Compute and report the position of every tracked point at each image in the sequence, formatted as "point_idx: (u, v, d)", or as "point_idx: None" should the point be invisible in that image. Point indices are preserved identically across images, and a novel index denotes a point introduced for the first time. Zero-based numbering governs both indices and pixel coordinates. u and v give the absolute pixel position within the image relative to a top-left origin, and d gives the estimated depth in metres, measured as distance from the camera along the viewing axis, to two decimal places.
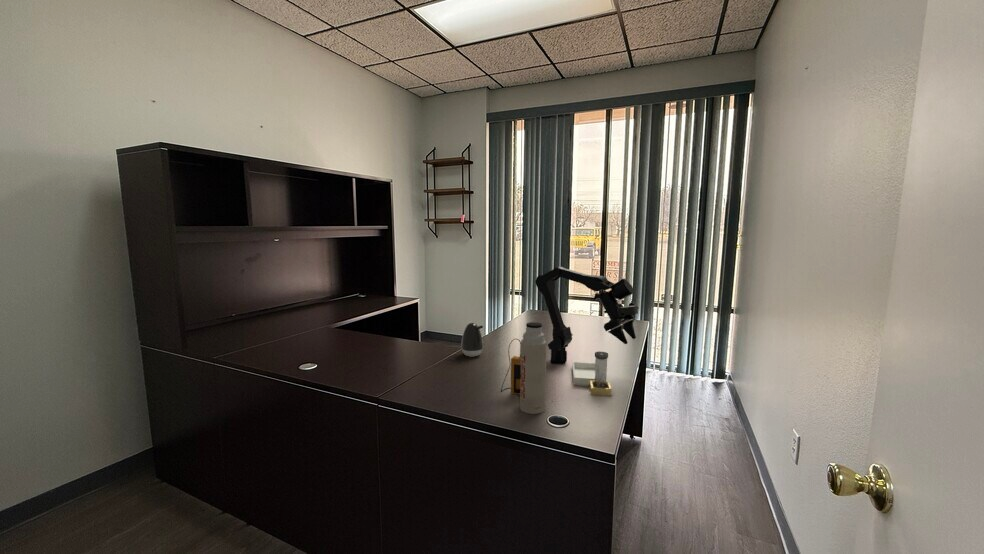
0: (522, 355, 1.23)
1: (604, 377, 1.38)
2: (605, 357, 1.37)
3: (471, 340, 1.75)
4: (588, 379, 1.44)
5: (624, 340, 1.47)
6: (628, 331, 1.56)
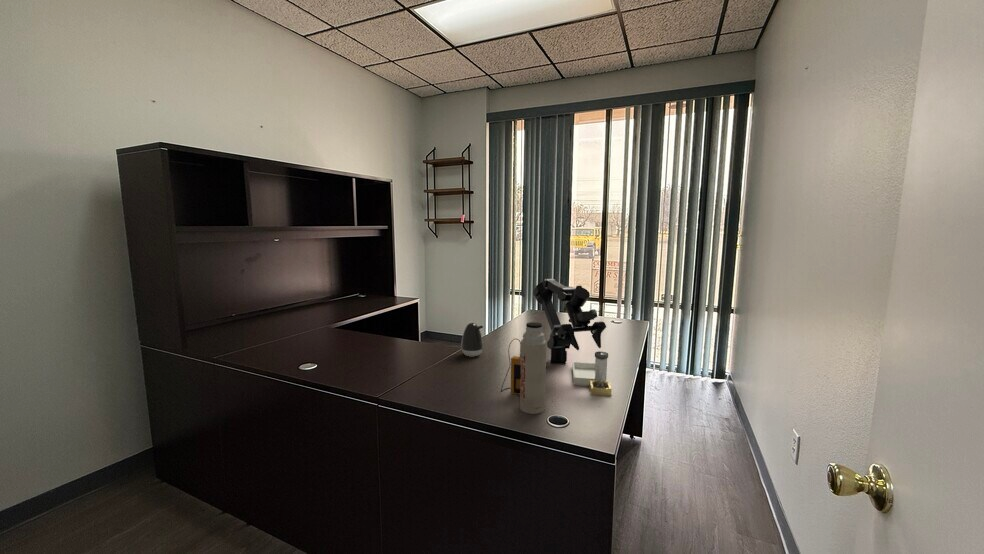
0: (522, 355, 1.23)
1: (604, 377, 1.38)
2: (605, 357, 1.37)
3: (471, 340, 1.75)
4: (588, 379, 1.44)
5: (575, 346, 1.46)
6: (596, 340, 1.51)
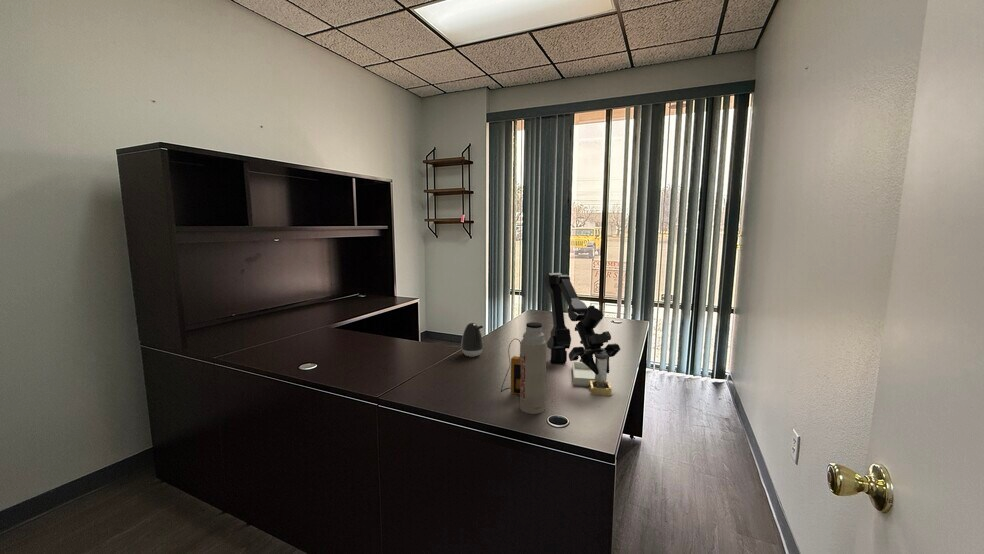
0: (522, 355, 1.23)
1: (604, 377, 1.38)
2: (605, 357, 1.37)
3: (471, 340, 1.75)
4: (588, 379, 1.44)
5: (594, 370, 1.38)
6: None
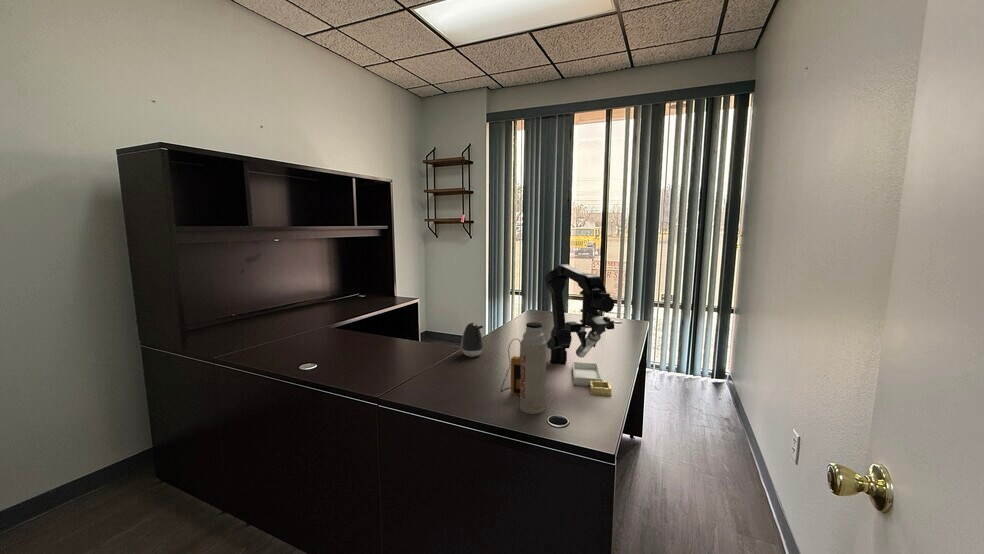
0: (522, 355, 1.23)
1: (588, 350, 1.52)
2: (596, 341, 1.46)
3: (471, 340, 1.75)
4: (588, 379, 1.44)
5: (582, 344, 1.50)
6: None
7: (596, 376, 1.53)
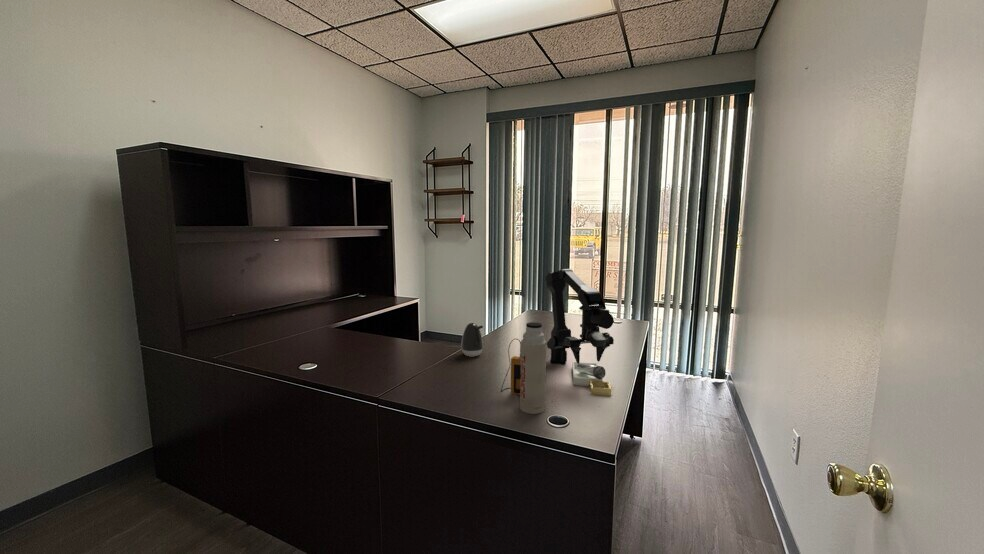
0: (522, 355, 1.23)
1: None
2: None
3: (471, 340, 1.75)
4: (588, 379, 1.44)
5: (576, 360, 1.50)
6: (597, 351, 1.54)
7: None
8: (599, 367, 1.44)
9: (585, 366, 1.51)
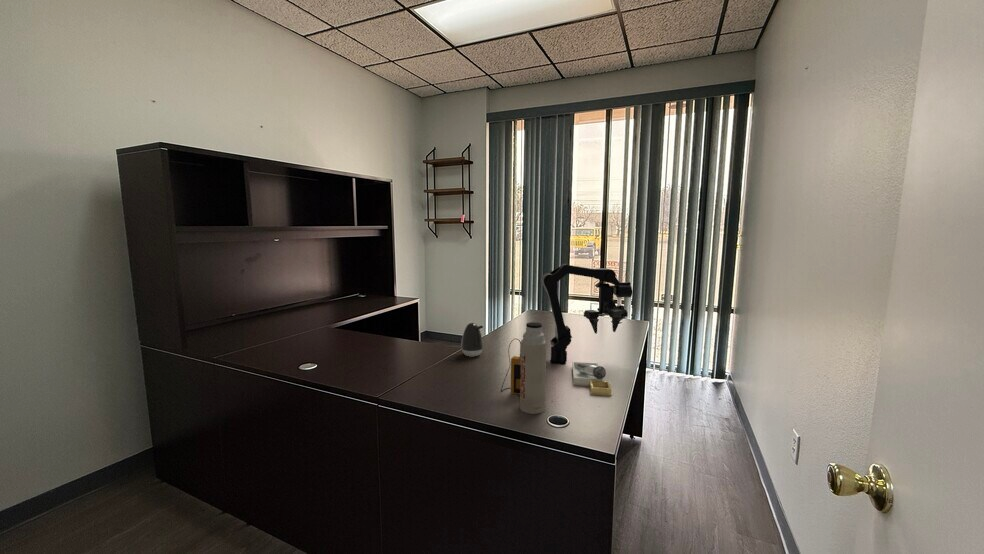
0: (522, 355, 1.23)
1: None
2: None
3: (471, 340, 1.75)
4: (588, 379, 1.44)
5: (594, 330, 1.69)
6: (613, 323, 1.73)
7: None
8: (599, 367, 1.44)
9: (585, 366, 1.51)
